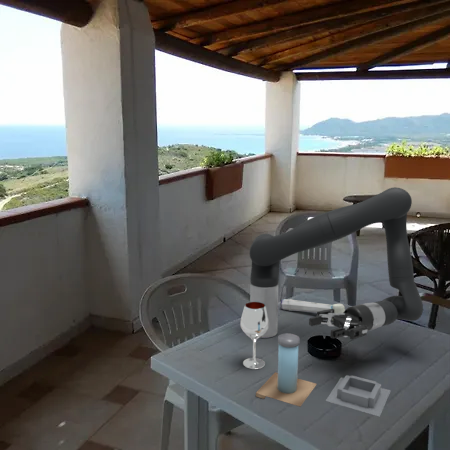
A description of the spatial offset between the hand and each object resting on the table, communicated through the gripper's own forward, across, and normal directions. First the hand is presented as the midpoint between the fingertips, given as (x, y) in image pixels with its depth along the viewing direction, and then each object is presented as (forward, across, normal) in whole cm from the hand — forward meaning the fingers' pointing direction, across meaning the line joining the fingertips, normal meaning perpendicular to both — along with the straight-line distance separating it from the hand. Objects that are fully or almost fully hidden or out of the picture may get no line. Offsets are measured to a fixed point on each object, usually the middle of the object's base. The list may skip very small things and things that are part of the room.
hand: (320, 328), depth 124 cm
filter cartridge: (+10, 0, +14) cm, 18 cm away
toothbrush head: (-30, -36, +16) cm, 49 cm away
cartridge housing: (-3, +12, +15) cm, 20 cm away
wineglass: (+10, -16, +16) cm, 25 cm away
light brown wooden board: (+10, +1, +15) cm, 19 cm away
